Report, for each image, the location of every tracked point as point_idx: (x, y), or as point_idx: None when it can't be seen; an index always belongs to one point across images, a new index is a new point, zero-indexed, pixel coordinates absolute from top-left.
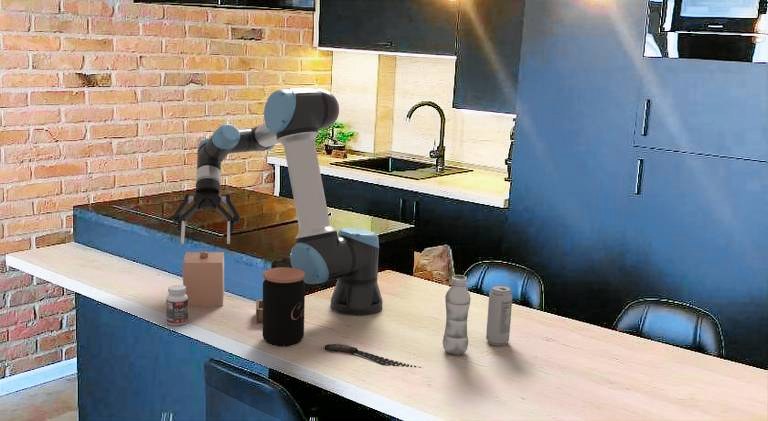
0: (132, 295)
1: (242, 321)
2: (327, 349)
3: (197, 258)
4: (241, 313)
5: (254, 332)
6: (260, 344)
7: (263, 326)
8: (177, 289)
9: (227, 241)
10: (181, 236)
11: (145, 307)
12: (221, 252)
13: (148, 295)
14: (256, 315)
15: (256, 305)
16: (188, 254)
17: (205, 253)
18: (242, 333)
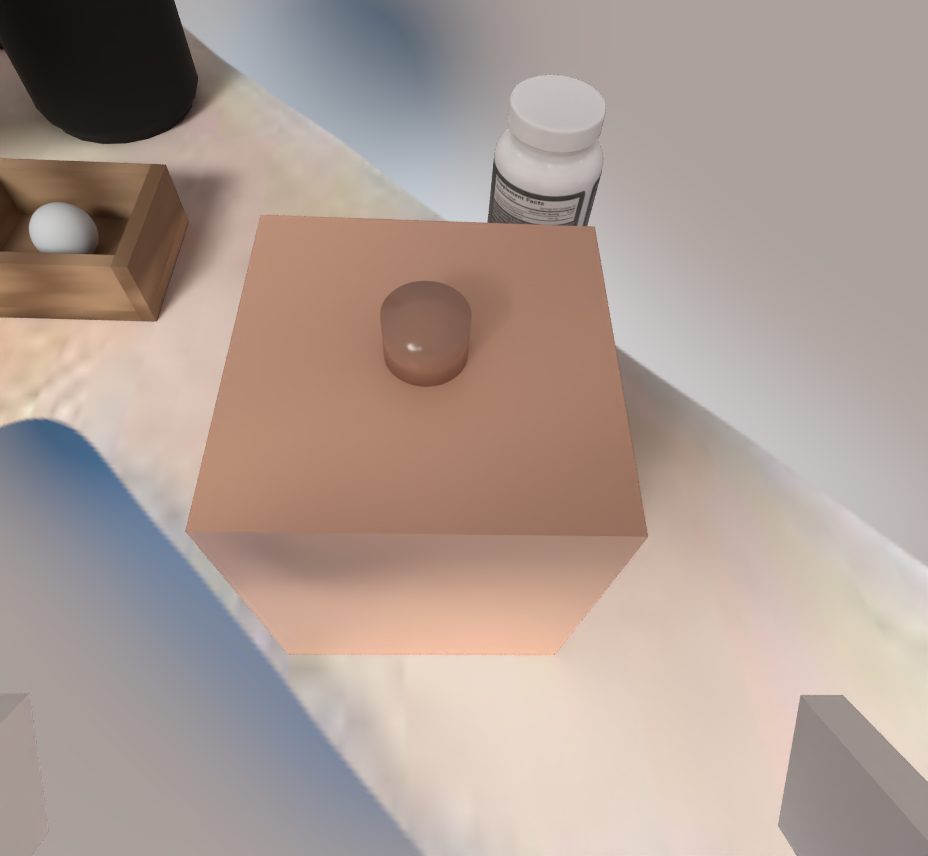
0: (909, 643)
1: (244, 245)
2: None
3: (486, 325)
4: (231, 326)
5: (215, 156)
6: (217, 84)
7: (183, 32)
8: (549, 78)
9: (31, 755)
10: (874, 739)
11: (736, 431)
12: (220, 517)
13: (805, 639)
14: (173, 191)
15: (148, 202)
16: (600, 451)
17: (408, 285)
18: (264, 153)
